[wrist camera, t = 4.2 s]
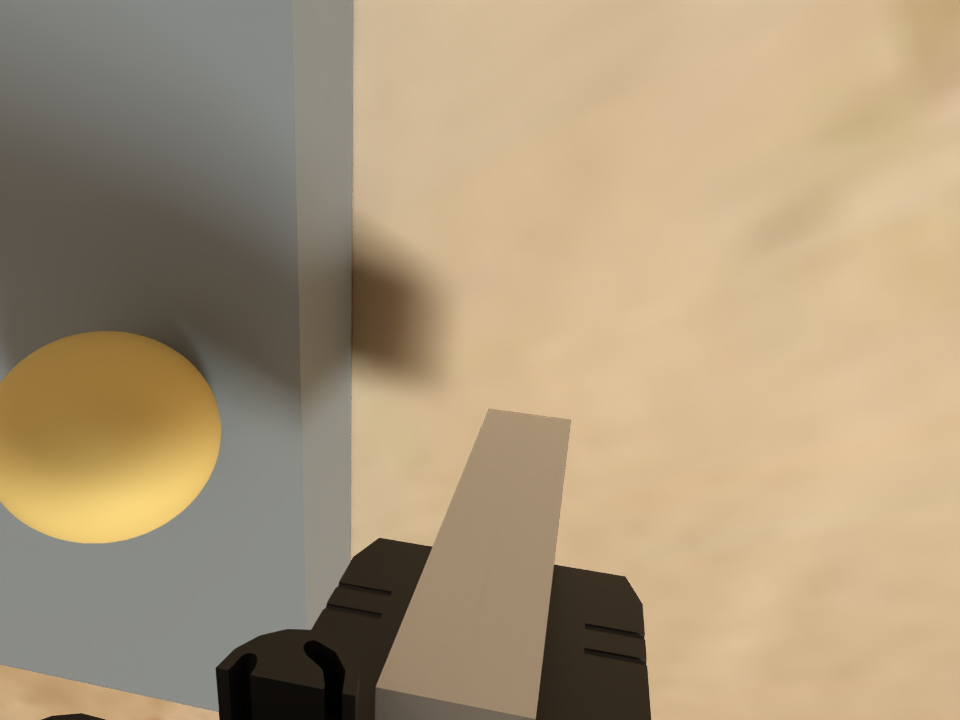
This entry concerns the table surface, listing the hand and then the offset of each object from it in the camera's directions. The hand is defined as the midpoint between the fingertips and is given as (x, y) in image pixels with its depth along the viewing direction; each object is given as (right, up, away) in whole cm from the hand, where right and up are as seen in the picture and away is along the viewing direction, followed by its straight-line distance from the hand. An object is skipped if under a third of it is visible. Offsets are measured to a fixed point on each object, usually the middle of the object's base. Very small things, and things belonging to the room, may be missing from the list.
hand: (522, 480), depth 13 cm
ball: (-8, +1, +2) cm, 8 cm away
